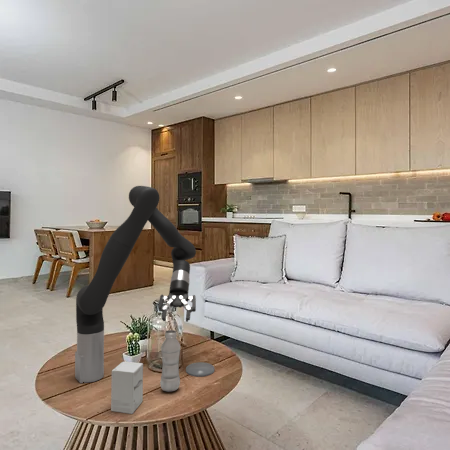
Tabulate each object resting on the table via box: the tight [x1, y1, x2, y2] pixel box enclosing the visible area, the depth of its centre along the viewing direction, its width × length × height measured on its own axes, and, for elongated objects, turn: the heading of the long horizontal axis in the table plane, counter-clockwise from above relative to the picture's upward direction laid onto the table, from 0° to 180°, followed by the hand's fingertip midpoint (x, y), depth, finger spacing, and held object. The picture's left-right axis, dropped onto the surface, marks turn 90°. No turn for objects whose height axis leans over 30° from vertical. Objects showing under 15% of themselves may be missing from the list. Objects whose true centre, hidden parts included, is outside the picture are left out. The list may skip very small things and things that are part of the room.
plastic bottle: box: [159, 329, 181, 393], centre depth 121 cm, size 6×7×20 cm
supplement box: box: [110, 361, 144, 415], centre depth 111 cm, size 7×7×13 cm
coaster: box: [185, 361, 215, 378], centre depth 137 cm, size 11×11×1 cm
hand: (175, 320), depth 133 cm, fingers open, 8 cm apart
